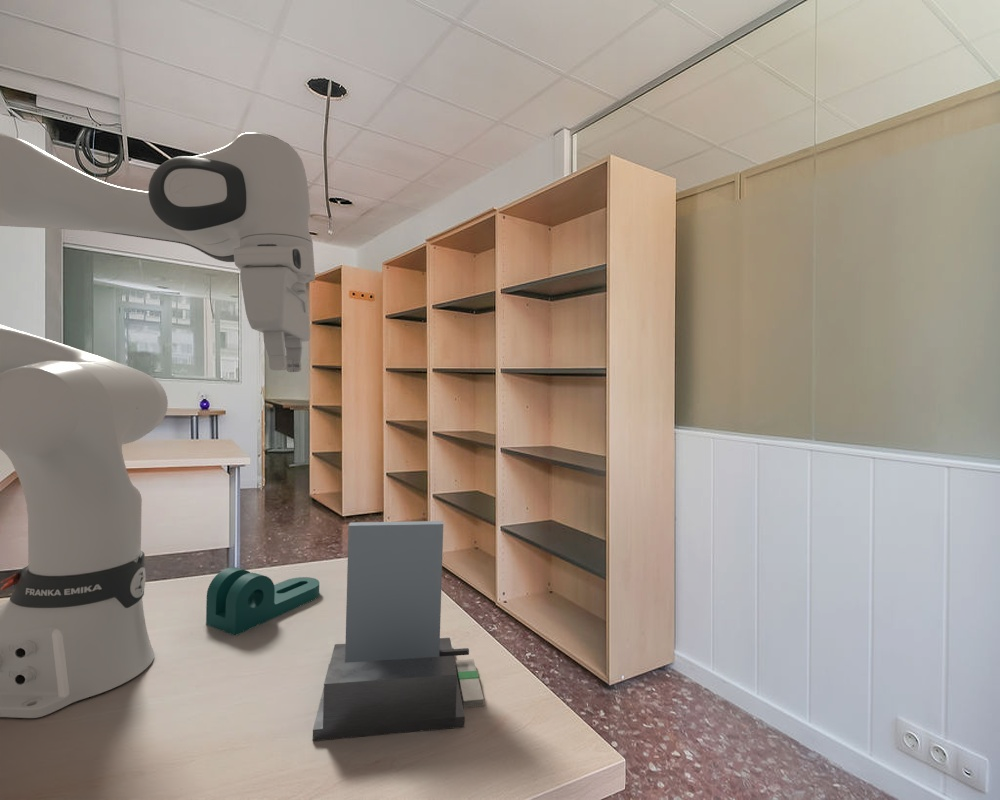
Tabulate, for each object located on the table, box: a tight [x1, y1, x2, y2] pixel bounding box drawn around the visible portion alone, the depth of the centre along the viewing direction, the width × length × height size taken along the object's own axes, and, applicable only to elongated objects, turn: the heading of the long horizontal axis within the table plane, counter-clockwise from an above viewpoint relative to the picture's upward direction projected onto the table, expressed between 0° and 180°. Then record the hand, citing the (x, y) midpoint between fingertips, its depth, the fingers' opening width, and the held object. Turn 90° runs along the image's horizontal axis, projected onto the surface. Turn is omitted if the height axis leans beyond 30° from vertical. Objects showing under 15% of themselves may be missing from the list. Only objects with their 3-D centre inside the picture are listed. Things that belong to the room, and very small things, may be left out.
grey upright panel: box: [344, 520, 470, 663], centre depth 68 cm, size 16×2×18 cm, turn 101°
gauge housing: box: [312, 637, 485, 742], centre depth 65 cm, size 19×18×6 cm
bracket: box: [205, 566, 320, 636], centre depth 85 cm, size 18×7×8 cm, turn 153°
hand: (287, 371), depth 69 cm, fingers open, 8 cm apart
